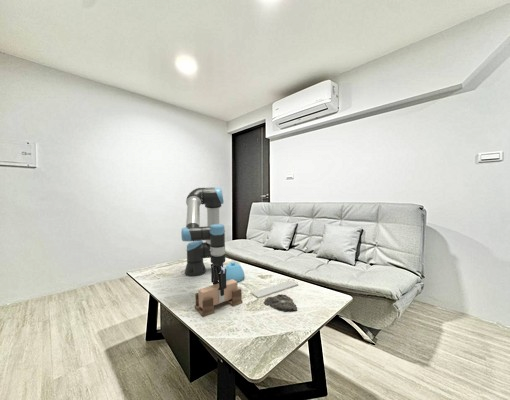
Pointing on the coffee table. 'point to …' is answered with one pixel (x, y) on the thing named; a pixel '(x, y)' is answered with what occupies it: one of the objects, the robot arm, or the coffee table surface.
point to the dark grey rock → (281, 303)
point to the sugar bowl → (234, 272)
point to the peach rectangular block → (217, 292)
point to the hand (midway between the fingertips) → (219, 299)
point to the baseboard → (274, 289)
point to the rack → (208, 303)
